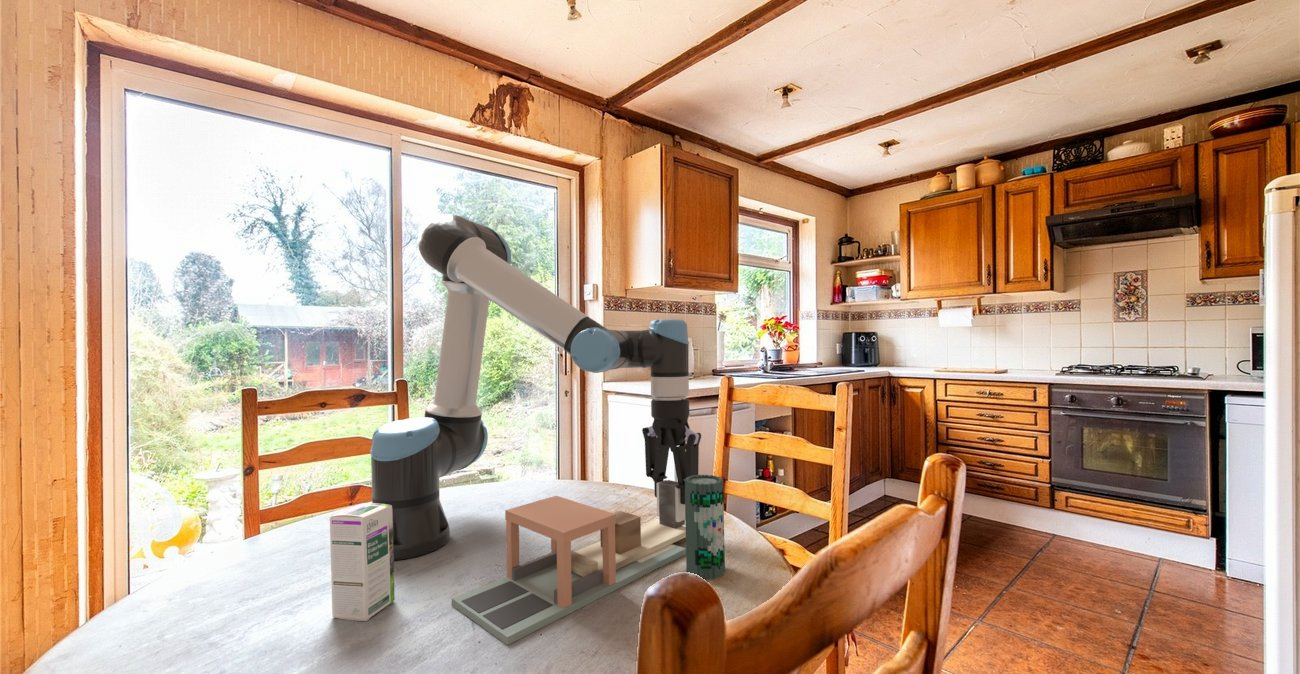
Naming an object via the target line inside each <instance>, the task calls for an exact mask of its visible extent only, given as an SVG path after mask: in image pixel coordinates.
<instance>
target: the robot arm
mask: <svg viewBox="0 0 1300 674" xmlns="http://www.w3.org/2000/svg"><path fill="white" fill-rule="evenodd" d="M417 242H418V243H417V246H418V251H419V253H420V255H421V257H422V259H423V261H425V263H426V264H428V265H429V266H430V267H431V268H432V269H434V270H435V271H437V272H438V273H440V274H442V277H441V278H442V279H441V283H442V285H443V286H444V287H445V288H446V290H447V297H446V298H447V299H446V307H445V314H444V323H443V329H442V338H441V344H440V346H441V347H440V353H439V363H438V367H437V378H436V382H435V383H436V386H435V391H434V399H433V401H432V402H431V403H430V404H429V405H427V406H426V407H425V411H424V416H420V417H418V416H417V417H409V418H405V419H398V420H394V421H391V422H387V423H385V424H383V425H381V426H380V427H377V428H376V429H375V431H374V432H373V434H372V440H371V448H370V457H371V458H370V459H371V460H370V461H371V463H370V465H371V498H372V499H371V500H372V502H371V503H380V504H388V505H392V519H393V555H394V561H397V560H399V561H400V560H404V559H405V560H407V559H410V558H415V557H419V556H423V555H425V554H429V553H433V552H434V551H436V550H439V549H441V548H442V547H443V546H445V545H446V544H447V543H448V542H449V540H450V538H451V536H450V524H449V522H448V519H447V516H446V513H445V510H444V508H443V505H442V502H441V500H440V499H441V498H440V479H441V478H443V477H445V476H447V475H449V474H452V473H454V472H457V471H462V470H464V469H466V468H467V467H469V466H470V465H472V464H473V463H475V462H477V461H478V460H479V459H480V457H482V455H484V453H485V450H486V449H487V447H488V438H489V437H488V436H489V435H488V434H489V433H488V430H487V427H486V426H485V425H484V424H485V423H484V421H483V420H482V412H483V411H482V410H481V409H480V408H479V406H478V405H477V397H478V390H479V383H480V375H481V374H480V373H481V366H482V358H483V350H484V343H485V337H486V328H487V322H488V313H489V306H490V301H491V302H493V303H494V304H495V305H497V306H498V307H500V308H501V309H503V310H504V311H506V312H507V313H508V314H509V315H512V316H513V317H514V318H516V319H518V320H519V321H520V322H521V323H523V324H525V325H526V326H527V327H528V328H531V329H532V330H534V331H535V332H536V333H538V334H540V336H542V337H544V338H545V339H547V340H548V341H550V342H551V343H553V344H554V345H556V346H557V347H559V348H560V349H562V351H564V352H566V353H567V354H568V355H570V356H571V358H572V361H573V362H574V364H575V365H576V366H577V367H578V368H579V369H580V370H582V371H585V372H589V373H592V374H593V373H594V374H598V373H604V372H608V371H611V370H618V369H633V368H635V369H636V368H637V369H638V368H639V369H640V368H644V369H645V368H650V396H651V397H653V398H652V399H651V401H650V409H651V413H650V414H651V417H652V418H653V422H652V425H651V426H648V427H647V426H646V427H642V429H641V431H642V436H643V438H644V455H645V457H644V458H645V460H644V461H645V476H646V477H647V478H651V479H652V480H653V481H652V482H653V483H654V484H653V485H654V497H655V498H656V516H657V517H659V483H661V482H664V481H667V479H668V476H666V474H667V466H668V460H669V454H670V453H669V452H671V453H672V456H673V460H674V467H675V475H676V479H677V481H676V482H678V485H676V487H675V521H676V522H680V521H683V520H685V478H686V477H689V476H693V475H699V461H700V460H699V456H700V455H699V452H700V451H699V449H700V448H699V447H700V442H701V439H702V434H701V432H695V431H693V430H691V428H690V425H689V423H688V421H689V418H690V400H689V398H687V397H688V396H690V388H689V387H690V384H689V383H690V381H689V380H690V379H689V376H690V375H689V373H690V372H689V367H690V366H689V365H690V363H689V355H690V354H689V347H690V344H689V343H690V341H689V339H688V338H689V336H688V334H689V333H688V324H687V322H686V321H685V320H683V319H679V318H678V319H677V318H676V319H675V318H674V319H673V318H671V319H669V318H666V319H663V318H661V319H653V320H651V321H650V322H649V328H648V329H645V330H644V329H642V330H616V329H608V328H606V327H605V326H603V325H602V324H600V323H599V322H597V321H596V320H595V319H593V318H591V317H590V316H588V315H587V314H585V313H584V312H582V311H581V310H580V309H578V308H577V307H575V306H573V305H572V304H570V303H569V302H567V301H566V300H565V299H563V298H561V297H560V296H559V295H556V294H555V293H554V292H552V291H551V290H549V289H547V288H546V287H544V286H543V285H542V284H540V283H538V282H537V281H535V280H534V279H533V278H531V277H529V276H528V275H526V274H525V273H524V272H522V271H521V270H519V269H518V268H516V267H515V266H513V265H512V252H511V249H510V246H509V244H508V242H507V240H506V239H505V238H504V237H503V236H502V235H501V234H499V233H498V232H497V231H495V230H493V229H492V228H490V227H489V226H484V225H482V224H480V223H476V222H474V221H471V220H469V219H467V218H465V217H463V216H460V215H457V214H450V213H449V214H448V213H445V214H444V213H443V214H439V215H436V216H433V217H431V218H430V219H428V221H426V222H425V223H424V224H423V226H422V227H421V229H420V231H419V234H418V240H417Z"/></svg>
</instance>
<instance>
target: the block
mask: <svg viewBox="0 0 1300 674" xmlns="http://www.w3.org/2000/svg"><path fill="white" fill-rule="evenodd" d="M613 513H614V514H616V524H615V553H618V554H620V555H621V554H623V553H625V552H627V551H630V550H632V549H634V548H636V547H639V546H641V525H642V523H641V521H642V520H641V516H639V515H635V514H632V513H630V512H626V511H622V510H619V511H617V512H613ZM599 531H600V533H599V534H600V539H601V547H602V529H601V530H599Z"/></svg>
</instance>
